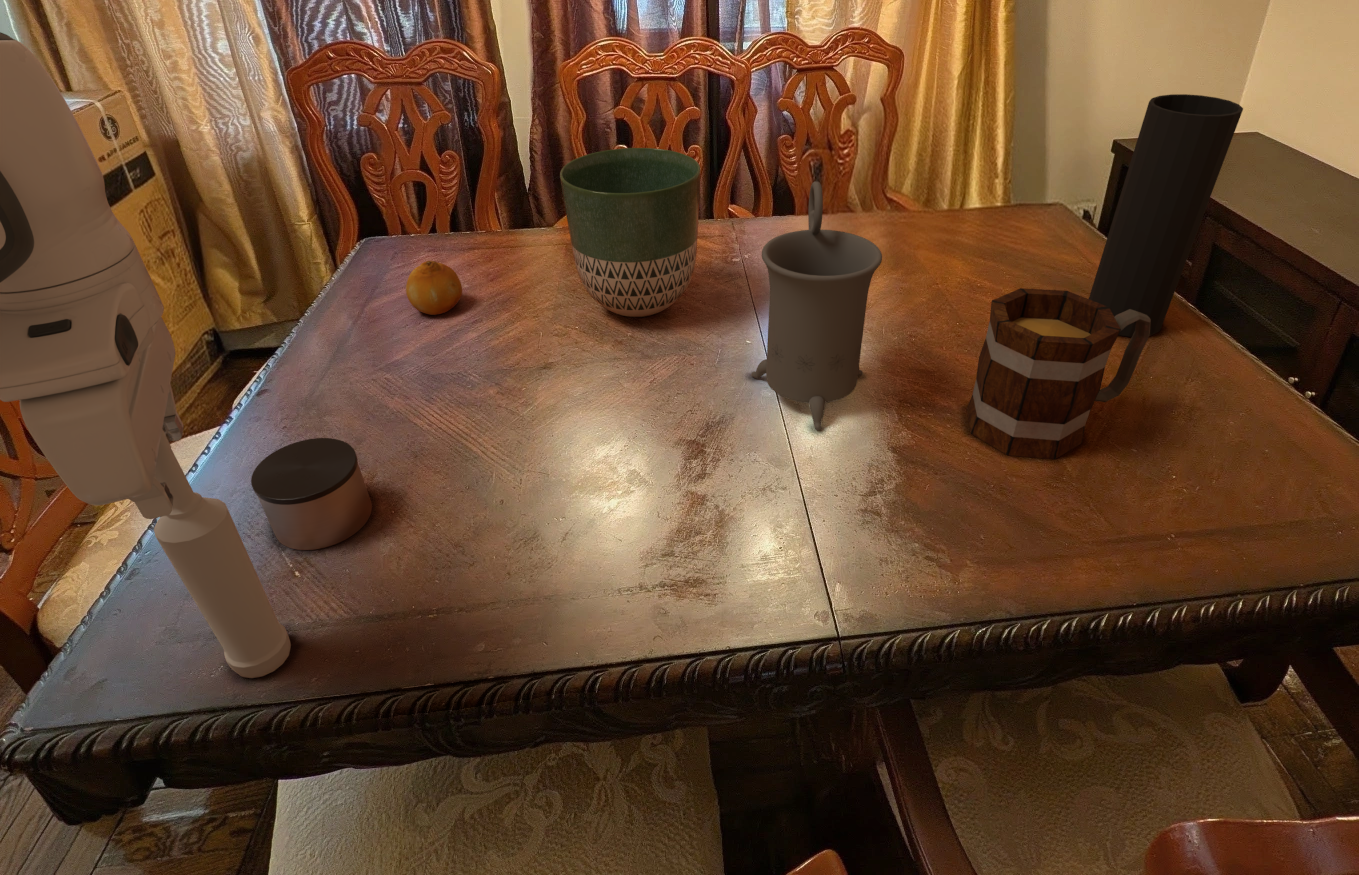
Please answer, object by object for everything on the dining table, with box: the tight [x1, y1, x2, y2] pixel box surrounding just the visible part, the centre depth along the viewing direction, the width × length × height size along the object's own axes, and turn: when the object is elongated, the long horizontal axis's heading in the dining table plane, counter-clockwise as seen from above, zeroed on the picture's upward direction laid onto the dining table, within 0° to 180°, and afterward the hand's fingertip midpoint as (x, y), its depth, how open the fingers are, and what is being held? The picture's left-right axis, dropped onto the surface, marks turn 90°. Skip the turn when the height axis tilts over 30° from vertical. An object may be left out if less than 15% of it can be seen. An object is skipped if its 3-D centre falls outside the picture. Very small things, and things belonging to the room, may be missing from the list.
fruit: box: [405, 260, 463, 316], centre depth 124 cm, size 8×8×8 cm
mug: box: [966, 287, 1151, 460], centre depth 93 cm, size 20×14×15 cm
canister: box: [250, 437, 373, 551], centre depth 84 cm, size 10×10×7 cm
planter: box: [559, 147, 701, 318], centre depth 118 cm, size 20×20×21 cm
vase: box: [1088, 93, 1244, 338], centre depth 108 cm, size 10×10×30 cm
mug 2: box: [750, 180, 883, 431], centre depth 97 cm, size 19×15×25 cm
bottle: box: [153, 429, 292, 679], centre depth 64 cm, size 5×5×25 cm
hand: (167, 471), depth 59 cm, fingers open, 8 cm apart
